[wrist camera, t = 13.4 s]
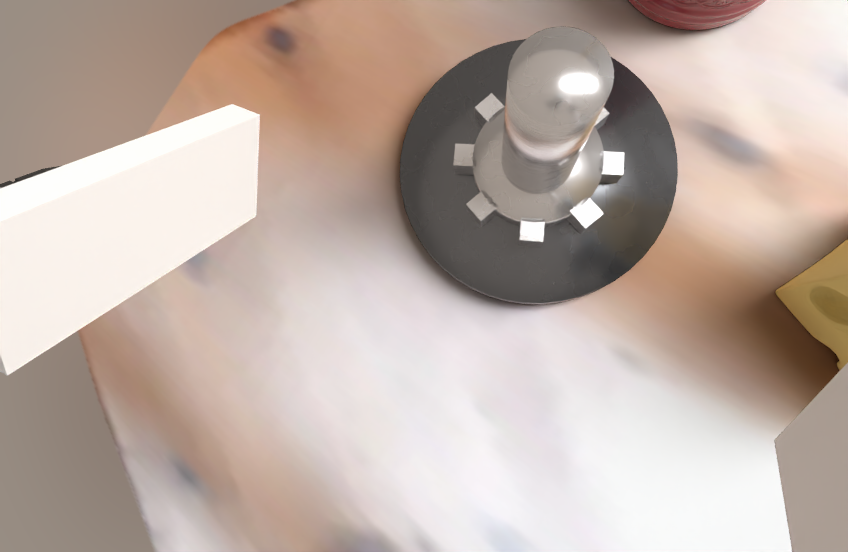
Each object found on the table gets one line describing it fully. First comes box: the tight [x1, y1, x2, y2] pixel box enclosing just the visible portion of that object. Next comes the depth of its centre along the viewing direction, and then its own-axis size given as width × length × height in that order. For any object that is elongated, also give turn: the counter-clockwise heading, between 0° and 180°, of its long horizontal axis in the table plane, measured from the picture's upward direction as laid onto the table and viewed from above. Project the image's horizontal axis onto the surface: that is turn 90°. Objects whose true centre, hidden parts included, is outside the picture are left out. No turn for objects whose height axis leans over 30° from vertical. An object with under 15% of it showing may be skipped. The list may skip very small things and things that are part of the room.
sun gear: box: [453, 27, 624, 247], centre depth 33 cm, size 12×12×14 cm
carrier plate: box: [400, 39, 678, 304], centre depth 41 cm, size 20×20×2 cm
